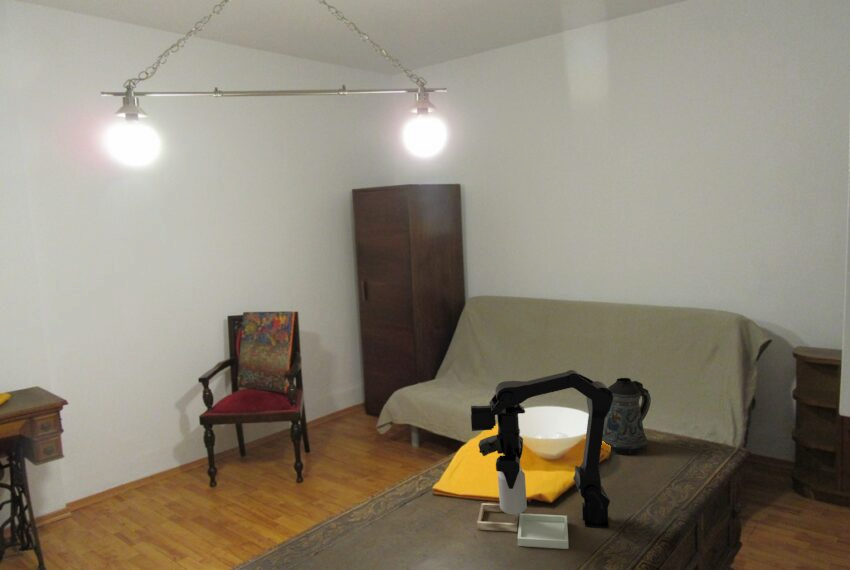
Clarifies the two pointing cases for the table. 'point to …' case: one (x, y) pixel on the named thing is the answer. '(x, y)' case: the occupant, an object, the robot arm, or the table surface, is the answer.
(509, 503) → the can
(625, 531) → the table surface
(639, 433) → the beer stein
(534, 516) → the tray
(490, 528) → the holder
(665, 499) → the table surface
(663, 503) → the table surface
